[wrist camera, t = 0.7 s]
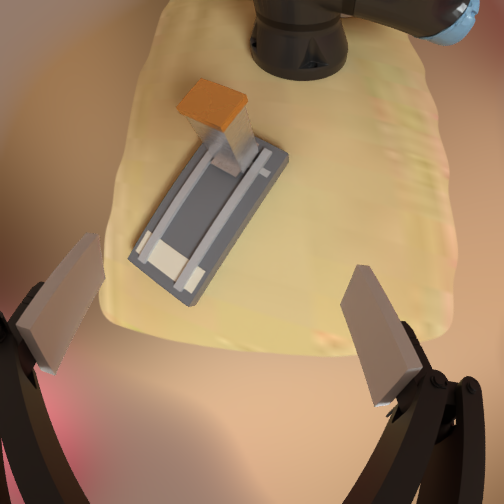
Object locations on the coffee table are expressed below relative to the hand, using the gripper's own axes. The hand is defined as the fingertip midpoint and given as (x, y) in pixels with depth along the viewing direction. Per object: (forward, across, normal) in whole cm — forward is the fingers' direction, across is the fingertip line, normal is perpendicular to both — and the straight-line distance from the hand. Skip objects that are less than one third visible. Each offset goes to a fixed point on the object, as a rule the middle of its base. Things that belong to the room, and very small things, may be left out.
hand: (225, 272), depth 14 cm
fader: (+22, 0, +1) cm, 22 cm away
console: (+21, -3, -6) cm, 22 cm away
